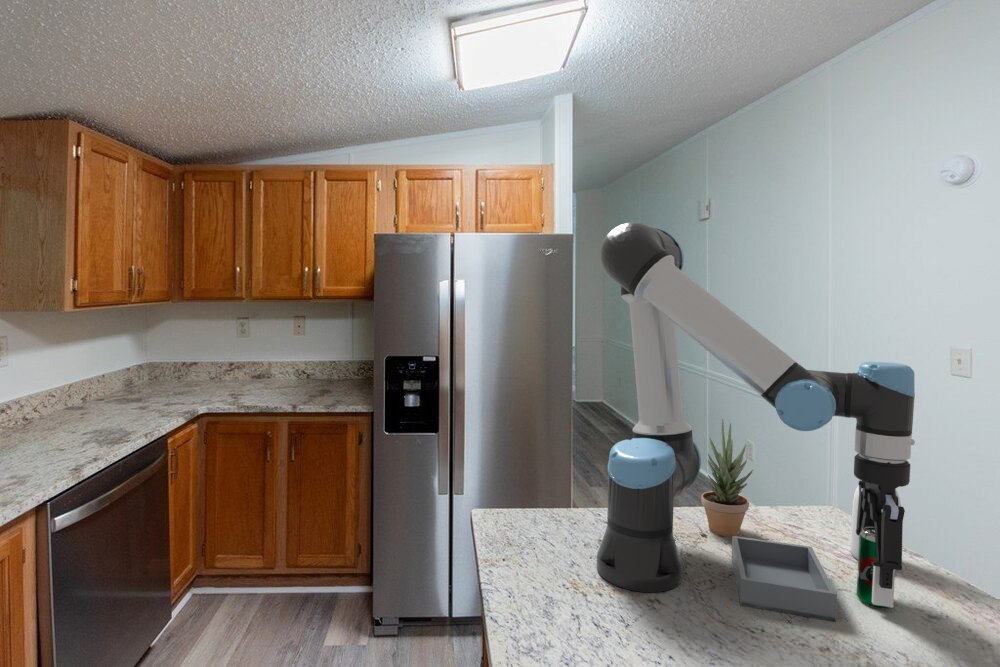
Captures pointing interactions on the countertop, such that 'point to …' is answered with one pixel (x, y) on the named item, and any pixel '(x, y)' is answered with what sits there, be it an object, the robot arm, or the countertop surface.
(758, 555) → the bin
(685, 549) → the countertop surface
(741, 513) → the potted plant
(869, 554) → the soda can
